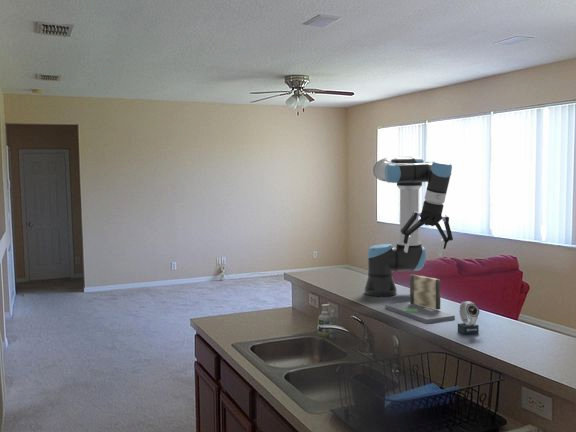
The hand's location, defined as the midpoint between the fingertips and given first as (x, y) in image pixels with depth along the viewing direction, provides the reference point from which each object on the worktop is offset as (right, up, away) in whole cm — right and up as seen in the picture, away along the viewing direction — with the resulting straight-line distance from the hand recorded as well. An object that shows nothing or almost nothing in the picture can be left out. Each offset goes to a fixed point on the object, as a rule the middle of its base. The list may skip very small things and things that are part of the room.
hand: (422, 253), depth 213 cm
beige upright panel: (+3, -22, +10) cm, 24 cm away
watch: (+10, -26, -24) cm, 37 cm away
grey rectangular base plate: (0, -24, +5) cm, 25 cm away
